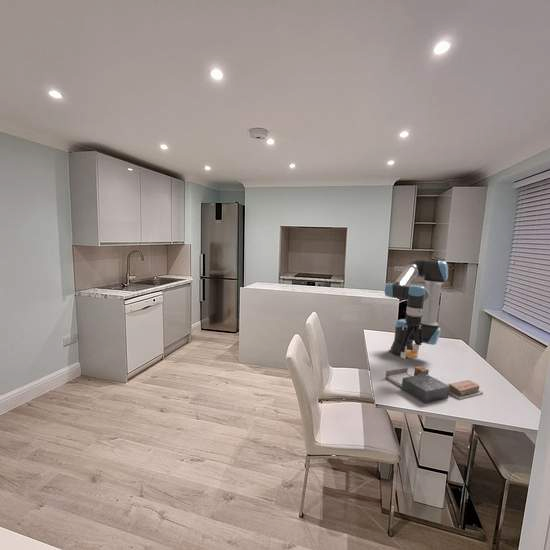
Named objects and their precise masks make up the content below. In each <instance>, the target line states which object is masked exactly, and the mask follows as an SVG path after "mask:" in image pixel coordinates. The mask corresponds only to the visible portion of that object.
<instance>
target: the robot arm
mask: <svg viewBox="0 0 550 550" xmlns="http://www.w3.org/2000/svg"><path fill="white" fill-rule="evenodd" d="M416 277H417V278H423V281H424V282H425V286H423V285H422V286H421V285H414V284H412V285H410V284H411V283H412V281H413V279H415V278H416ZM448 278H449V267H448V263H447V261H444V260H434V259H433V260H432V259H423V258H422V259H415V260H412V261H410V262H408V263H406V264H405V265H404V267H403V269H402V272H401V273H400V275H399V276H398V277H397V278H396V280H395V281H394V282H393V283H387V284H386V285H385V287H384V295H385V297H389V298H391V299H392V298H393V299H400V300H407V302H406V311H405V313H406V314H405V318H402V319H401V318H400V319H398V320H397V321H396V322H395V329H394V338H393V339H394V340H393V342H392V344H391V346H390V350H389V351H390V353H392V354H394V355H396V356H399V357H400V358H402V359H403V360H406V358H407V357H406V351H407V350H412V351H415V352H417V353H418V354H419V350H420V346H422V344H427V345H432V346H435V345H436V344H438V341H439V338H440V335H441V330H442V329H441V328H440V327H439V326H440V325H439V323H438V321H437V319H438V313H439V305H440V304H439V303H440V296H441V290H442V289H441V288H442V285H443V284H445V281H447V280H448ZM409 285H410V286H409Z"/></svg>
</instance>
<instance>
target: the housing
mask: <svg viewBox="0 0 550 550" xmlns="http://www.w3.org/2000/svg"><path fill="white" fill-rule="evenodd" d="M401 390H402V391H404V392H405V393H407V394H409V395H411V397H414V398H415V399H417V400H418V401H420V402H422V404H423V403H424V404H428V403H432V402H435V401H436V402H437V401H441V400H443V399H447V398H448V399H449V397H450V394H449V390H450V386H449V385H448V384H447V383H445V382H443V381H442V380H441V381H440V380H438V379H437V378H435V377H432V376H431V375H429V374H428V375H427V374H421V375H416V376H414V375H412V376H411V377H406V378H403V380H402V387H401Z"/></svg>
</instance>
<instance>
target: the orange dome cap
mask: <svg viewBox="0 0 550 550" xmlns="http://www.w3.org/2000/svg"><path fill="white" fill-rule="evenodd" d="M418 357H419V352H418V353H417V352H415V351H412V350H407V351H406V358H409V359H417V358H418Z"/></svg>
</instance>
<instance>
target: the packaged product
mask: <svg viewBox="0 0 550 550" xmlns="http://www.w3.org/2000/svg"><path fill="white" fill-rule="evenodd" d="M447 385H449V386H450V390H449V396H452V397H453V398H455V399H457V400H459V401H460V400H463V399H468V398H473V397H476V396H479V395H483V394H484V392H483V391H480V385H479V384H478V383H477V382H474V381H473V380H463V381H457V382H452V383H449V384H447Z"/></svg>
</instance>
